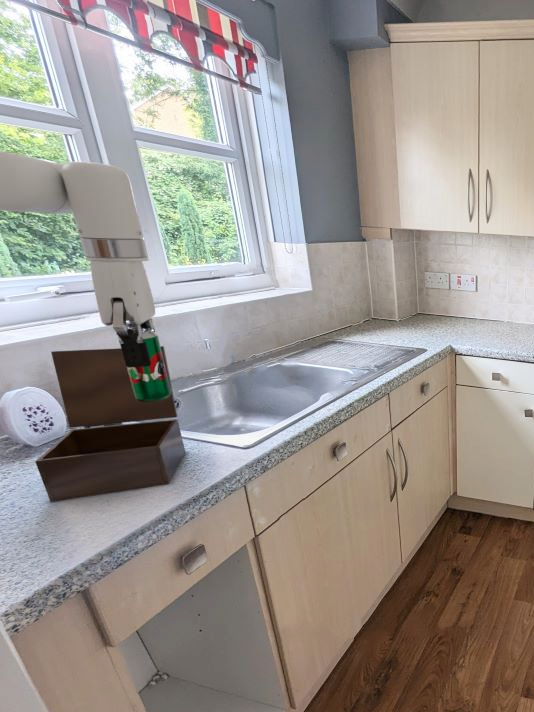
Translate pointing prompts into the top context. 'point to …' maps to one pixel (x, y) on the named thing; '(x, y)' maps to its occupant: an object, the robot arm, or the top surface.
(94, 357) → the lid
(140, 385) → the soda can
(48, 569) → the top surface
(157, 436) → the chest
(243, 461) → the top surface
